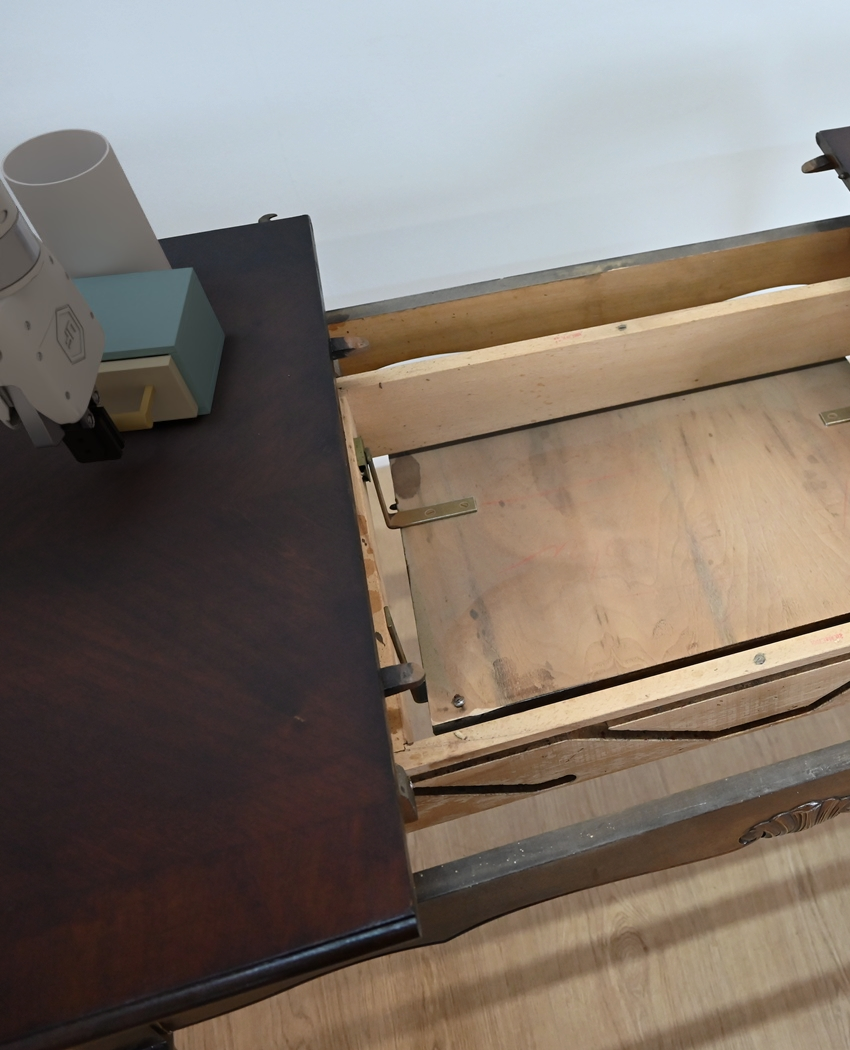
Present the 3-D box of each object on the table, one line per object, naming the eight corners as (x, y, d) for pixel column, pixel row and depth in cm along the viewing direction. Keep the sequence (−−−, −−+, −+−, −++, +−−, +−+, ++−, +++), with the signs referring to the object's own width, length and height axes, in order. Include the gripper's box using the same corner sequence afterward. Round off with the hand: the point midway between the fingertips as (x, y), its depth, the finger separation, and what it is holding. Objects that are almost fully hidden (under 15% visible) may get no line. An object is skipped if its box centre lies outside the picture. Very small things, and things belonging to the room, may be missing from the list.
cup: (74, 334, 93) (-23, 177, 81) (127, 279, 98) (42, 122, 86) (155, 349, 92) (69, 191, 79) (204, 291, 97) (130, 135, 84)
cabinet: (210, 414, 87) (174, 345, 81) (78, 428, 86) (32, 360, 80) (225, 335, 93) (192, 266, 87) (102, 348, 92) (61, 279, 86)
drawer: (189, 455, 83) (159, 403, 78) (66, 469, 82) (29, 417, 77) (211, 345, 91) (185, 293, 86) (100, 357, 90) (68, 304, 85)
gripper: (2, 323, 60) (138, 522, 74) (58, 178, 69) (169, 380, 83) (-137, 338, 59) (28, 537, 73) (-62, 189, 68) (71, 391, 82)
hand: (103, 453), depth 78 cm, fingers closed
